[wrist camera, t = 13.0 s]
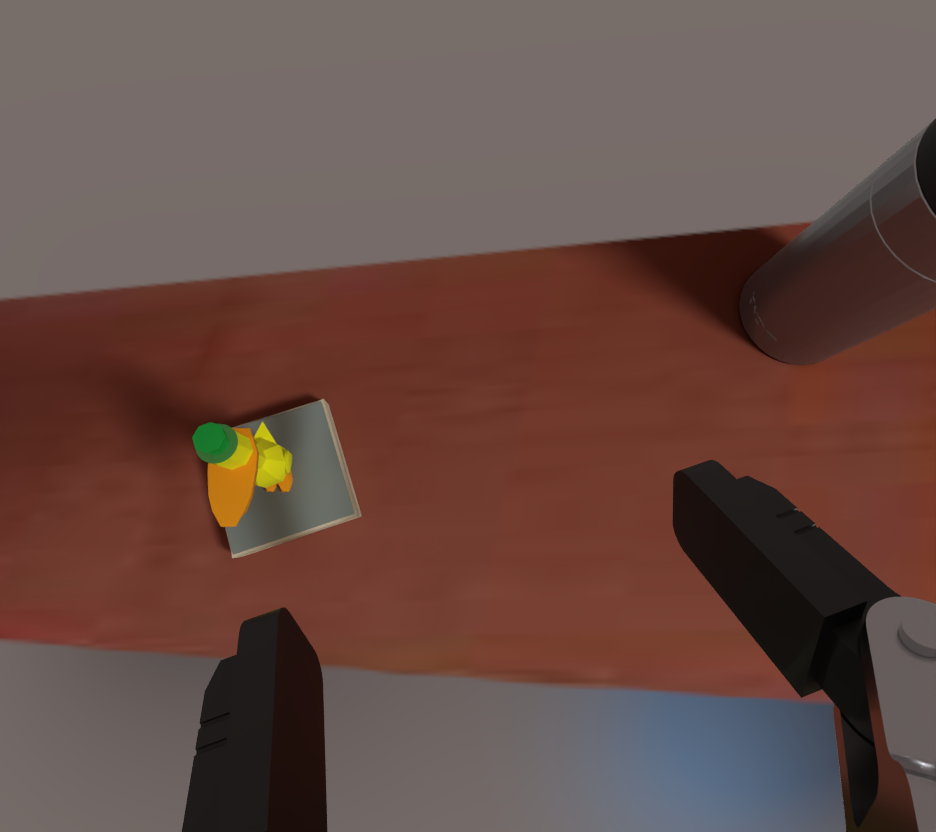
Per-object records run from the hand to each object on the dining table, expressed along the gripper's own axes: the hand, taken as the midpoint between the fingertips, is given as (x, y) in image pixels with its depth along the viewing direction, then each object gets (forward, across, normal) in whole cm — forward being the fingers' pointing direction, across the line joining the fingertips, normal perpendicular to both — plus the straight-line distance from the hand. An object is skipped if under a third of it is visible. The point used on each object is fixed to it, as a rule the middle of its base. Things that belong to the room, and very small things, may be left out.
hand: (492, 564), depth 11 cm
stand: (+27, +11, +15) cm, 33 cm away
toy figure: (+25, +11, +14) cm, 31 cm away
